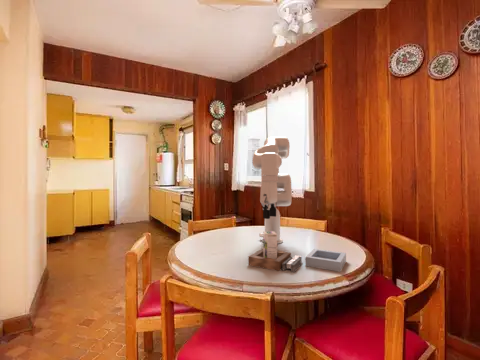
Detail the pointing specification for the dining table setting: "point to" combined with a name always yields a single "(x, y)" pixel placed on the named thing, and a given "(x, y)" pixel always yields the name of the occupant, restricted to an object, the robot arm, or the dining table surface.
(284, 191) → the robot arm
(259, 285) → the dining table surface
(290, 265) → the key
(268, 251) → the syrup box
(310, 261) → the grey square tray
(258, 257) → the socket block
